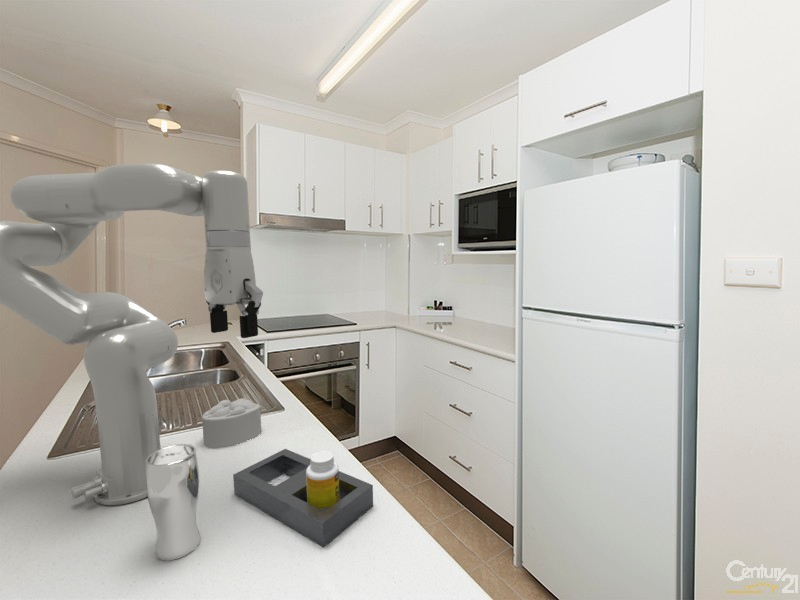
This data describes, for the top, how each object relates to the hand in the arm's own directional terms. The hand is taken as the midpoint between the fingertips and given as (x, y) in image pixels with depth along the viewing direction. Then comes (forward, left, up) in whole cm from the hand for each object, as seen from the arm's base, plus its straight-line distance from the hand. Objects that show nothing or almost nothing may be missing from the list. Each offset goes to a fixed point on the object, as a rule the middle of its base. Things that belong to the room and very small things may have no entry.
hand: (234, 334), depth 73 cm
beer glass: (-15, -6, -31) cm, 35 cm away
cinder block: (+4, -13, -30) cm, 33 cm away
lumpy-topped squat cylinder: (+11, +22, -31) cm, 39 cm away
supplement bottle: (+4, -19, -31) cm, 36 cm away
